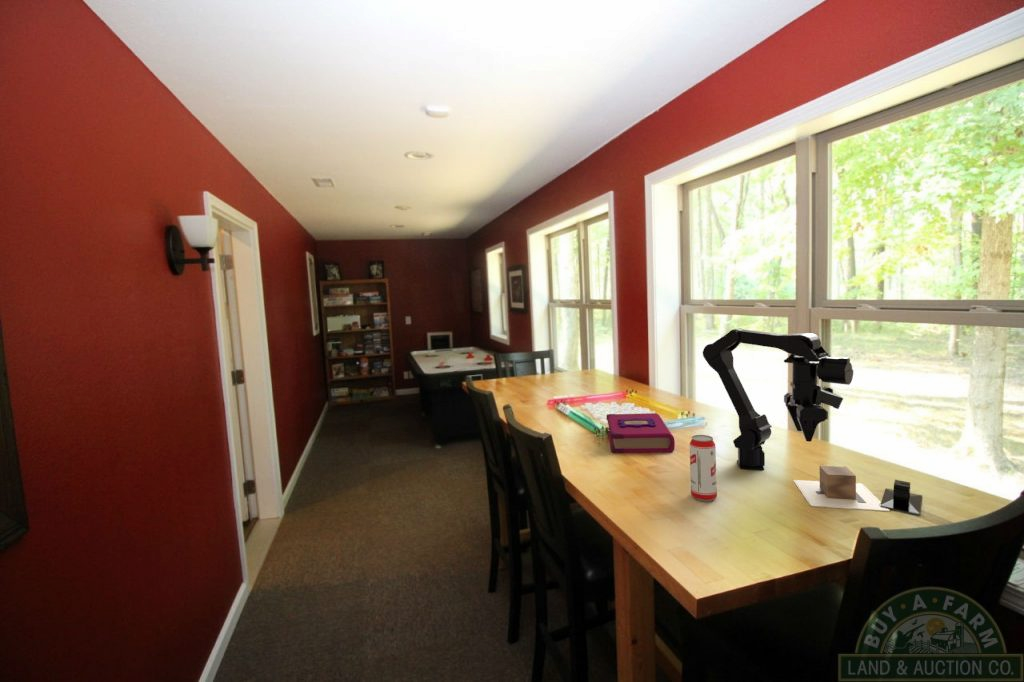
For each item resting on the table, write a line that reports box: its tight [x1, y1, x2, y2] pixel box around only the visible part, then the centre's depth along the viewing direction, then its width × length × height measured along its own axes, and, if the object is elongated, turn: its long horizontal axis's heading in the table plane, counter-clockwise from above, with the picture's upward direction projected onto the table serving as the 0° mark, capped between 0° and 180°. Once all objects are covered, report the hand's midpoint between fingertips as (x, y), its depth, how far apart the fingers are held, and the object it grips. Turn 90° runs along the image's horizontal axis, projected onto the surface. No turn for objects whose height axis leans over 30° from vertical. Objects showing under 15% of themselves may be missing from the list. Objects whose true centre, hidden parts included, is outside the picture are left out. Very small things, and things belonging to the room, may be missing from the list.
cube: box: [819, 465, 857, 500], centre depth 117 cm, size 6×6×6 cm
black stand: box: [879, 479, 923, 516], centre depth 112 cm, size 12×7×5 cm, turn 137°
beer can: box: [689, 434, 718, 503], centre depth 120 cm, size 6×6×16 cm
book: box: [606, 412, 676, 454], centre depth 171 cm, size 21×28×8 cm
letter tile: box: [792, 479, 891, 512], centre depth 118 cm, size 16×16×1 cm
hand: (803, 436), depth 127 cm, fingers open, 9 cm apart
